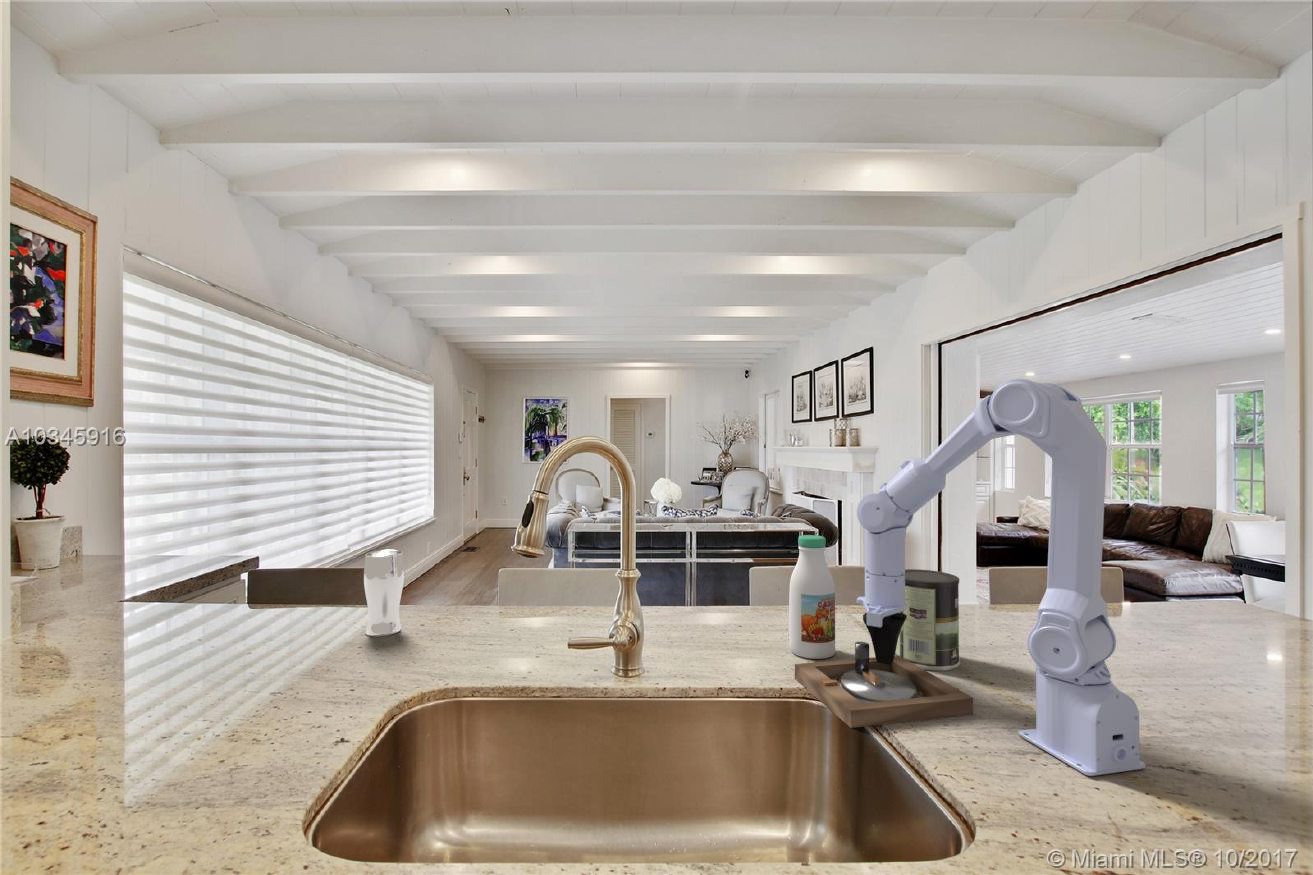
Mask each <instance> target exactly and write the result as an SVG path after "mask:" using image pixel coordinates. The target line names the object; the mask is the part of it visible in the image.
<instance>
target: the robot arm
mask: <svg viewBox="0 0 1313 875" xmlns="http://www.w3.org/2000/svg"><path fill="white" fill-rule="evenodd" d="M1015 435H1016V436H1017V435H1019V436H1021V437H1024V438H1025V439H1028V440H1030V441H1031V442H1032V444H1033V443H1034V445H1035V446H1037V447H1038V448H1039V449H1040V450H1042V451H1043V452H1044V453H1045V454H1047V455H1048V456H1049V457H1050V458H1051V461H1052V462H1051V480H1050V481H1051V482H1050V484H1051V485H1050V507H1049V508H1050V509H1049V532H1048V553H1047V577H1046V578H1047V579H1046V590H1045V593H1044V595H1043V596H1042V598H1041V601H1040V603H1039V606H1038V608H1037V616H1036V617H1037V618H1036V619H1037V620H1036V622H1035V624H1034V626H1032V629H1031V630H1030V631H1029V633H1028V635H1027V643H1026V644H1027V645H1026V646H1027V649H1028V653H1029V655H1030V658H1031V659H1032V660H1033V662H1034V663H1035V710H1036V711H1035V712H1036V713H1035V726H1036V727H1035V728H1029V729H1022V730H1018V735H1019V736H1020V737H1021V738H1023V739H1024V740H1026V741H1028V742H1029V743H1031V744H1033V745H1035V746H1036V747H1038V748H1040V749H1042V750H1043V751H1045V752H1047V753H1048V754H1050V755H1051V756H1053V757H1054V758H1057V759H1058V760H1060V761H1062V762H1063V763H1065V764H1066V765H1069V766H1071V767H1072V768H1073V769H1075V770H1076V771H1078V772H1080V773H1082V774H1083V775H1086V776H1089V777H1092V776H1093V777H1094V776H1101V775H1108V774H1113V773H1114V774H1116V773H1120V772H1127V771H1128V772H1129V771H1134V770H1142V769H1145V768H1146V763H1145V762H1143V761H1141V760H1140V758H1141V756H1140V754H1141V752H1140V747H1141V746H1140V713H1139V709H1138V706H1137V704H1136V702H1135V701H1134V699H1133V698H1132V697H1130V695H1127V693H1125V692H1123V691H1122V690H1120V689H1118V688H1117V687H1116V686H1115V684H1114V683H1113V682H1112V680H1111V675H1112V674H1111V673H1110V669H1109V668H1108V665H1107V664H1106V660H1107V659H1109V658H1110V657H1111V656H1112V655H1113V654H1114V652H1115V650H1116V647H1117V638H1116V634H1115V632H1114V629H1113V627H1112V626H1111V624H1110V622H1109V616H1108V609H1109V607H1108V604H1107V602H1106V601H1105V599H1104V598H1103V596H1102V593H1101V585H1102V564H1103V563H1102V560H1103V543H1104V542H1103V541H1104V539H1103V538H1104V520H1105V519H1104V518H1105V517H1104V516H1105V495H1106V494H1105V493H1106V473H1107V472H1106V471H1107V452H1108V450H1107V449H1108V448H1107V442H1106V439H1105V438H1104V436H1103V435H1102V433H1101V432H1100V431H1099V429H1098V427H1097V426H1096V424H1095V423H1094V421H1093V420H1092V419H1091V417H1090V416H1089V414H1088V413H1087V411H1086V410H1085V408H1084V405H1083V402H1082V400H1081V398H1080V397H1078V396H1076V395H1075V394H1073V392H1070V391H1069V390H1067V389H1066V388H1064V387H1062V386H1060V385H1059V384H1056V383H1055V384H1054V383H1050V382H1049V383H1048V382H1044V383H1042V382H1037V381H1032V380H1030V379H1025V378H1013V379H1010V380H1007V381H1005V382H1003V383H1001V384H999V386H997V387H996V388H995V390H994V391H993V393H992V394H991V395H990V394H987V396H985V397H984V398H982V399H981V400H980V401H979V403H978V404H977V406H976V407H975V408H974V409H973V411H972V412H971V413H970V414H969V415H968V416H967V417H966V418H965V419H964V420H963V421H962V422H961V424H959V425H958V426H957V428H955V429H954V430H953V431H952V432H951V433H950V434H949V435H948V436H947V437H946V439H944V440H943V442H941V443H940V445H939V446H938V447H936V448H935V450H934V451H932V453H930V454H929V456H927V458H921V457H920V458H919V457H918V458H913V459H912V460H905V461H903V462H902V463H901V464H900V468H901V470H900V471H899V472H898V473H896V475H894V476H893V477H892V478H891V479H890V480H889V481H888V482H883V483H882V484H880V485H879V487H878V488H879V491H878V492H869V493H866V494H864V495H863V496H862V499H861V500H860V501H859V502H858V504H857V508H856V517H857V520H858V522H859V524H860V525H861V527H862V528H863V529H864V596H858V597H857V599H856V603H857V605H858V604H860V605H863V606H864V609H865V611H866V612H865V613H863V615H862V620H863V623H864V625H865V627H866V629H867V631H868V633H869V636H870V638H871V642H872V647H873V652H874V656H875V657H876V660H877V662H878V663H883V664H888V665H891V664H892V663H893V660H894V657H895V652H896V647H897V642H898V637H899V634H900V631H901V628H902V626H903V624H904V622H905V620H906V618H907V615H906V614H903V613H899V612H902V611H905V610H906V609H907V604H906V602H905V570H906V538H907V529H908V527H909V526H910V524H912V522H913V519H914V514H915V513H916V512H918V511H920V510H921V508H923V507H924V506H925V505H927V503H929V501H931V500H933V499H934V498H935V496H937V495H938V494H939V493H940V492H942V491H943V490H944V489H945V487H946V483H947V482H946V480H947V479H946V478H947V477H946V476H947V474H949V473H950V472H952V471H953V470H954V469H955V468H957V467H959V466H960V464H962V463H963V462H965V461H966V460H967V459H968V458H970V457H971V456H972V455H973V454H975V453H976V452H977V451H979V449H982V448H983V447H984V446H985V445H986V444H987V443H989V442H991V441H992V440H993V439H1000V438H1005V437H1009V436H1010V437H1011V436H1015ZM875 657H874V658H875Z"/></svg>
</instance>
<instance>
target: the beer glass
mask: <svg viewBox="0 0 1313 875" xmlns="http://www.w3.org/2000/svg"><path fill="white" fill-rule="evenodd" d="M364 557H365V558H364V567H363V568H364V569H363V584H364V585H363V586H364V592H365V598H366V603H367V610H368V612H367V613H368V614H367V615H368V617H367V624H366V628H365V634H366V635H367V637H368V636H369V637H387V636H391V635H394V634H397V633H399V632H401V630H402V626H401V620H400V604H401V599H402V593H403V588H404V582H405V581H404V580H405V565H404V563H405V562H404V551H403V550H399V549H383V550H375V551H373V550H372V551H369V552H366V553H365V556H364Z"/></svg>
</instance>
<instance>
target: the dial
mask: <svg viewBox="0 0 1313 875" xmlns="http://www.w3.org/2000/svg"><path fill="white" fill-rule="evenodd" d="M869 658H870V643H868V642H866V641H856V642H855V643H854V659H855V670H852V671H848V672H846V673H844V674H843V675H842V677H841V679H840V687H841V688H843V689H844V690H845V691H847V692H848V693H849V694H850V695H852V696H853V697H854V698H856V699H857V700H858V701H859V702H861V703H872V702H882V701H892V700H902V699H912V698H917V690H916V687H915V685H914V684H913V683H912V682H911V681H910V680H908V679H906V678H905V677H902V676H900V675H897V674H894V673H890V672H886V671H881V670H872V669H869Z"/></svg>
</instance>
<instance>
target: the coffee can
mask: <svg viewBox="0 0 1313 875" xmlns="http://www.w3.org/2000/svg"><path fill="white" fill-rule="evenodd" d="M959 585H960V577H959V576H956V575H954V574H951V573H948V572H944V571H938V570H931V569H920V568H919V569H914V568H913V569H905V602H906V604H907V609H906V610H905V611H902V612H899V613H903V614H906V615H907V618H906V620H905V622H904V624H903V626H902V628H901V631H900V634H899V637H898V642H897V647H896V652H895V656H901V657H903V658H904V659H906V660H908V661H910V662H911V663H913V664H915V665H917V666H918V667H920V668H922V669H924V670H925V671H937V672H938V671H941V672H942V671H943V672H944V671H946V672H947V671H952V670H956V669H958V668H959V666H960V665H961V662H960V632H959V631H960V626H959V624H960V623H959V622H960V621H959V619H960V615H959V614H960V611H959V610H960V607H959V605H960V604H959V601H960V600H959V598H960V597H959V596H960V595H959V592H960V591H959V590H960V589H959Z"/></svg>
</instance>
